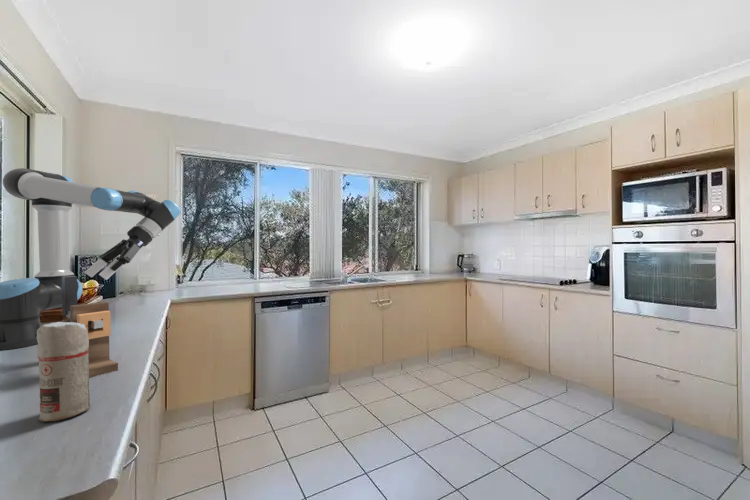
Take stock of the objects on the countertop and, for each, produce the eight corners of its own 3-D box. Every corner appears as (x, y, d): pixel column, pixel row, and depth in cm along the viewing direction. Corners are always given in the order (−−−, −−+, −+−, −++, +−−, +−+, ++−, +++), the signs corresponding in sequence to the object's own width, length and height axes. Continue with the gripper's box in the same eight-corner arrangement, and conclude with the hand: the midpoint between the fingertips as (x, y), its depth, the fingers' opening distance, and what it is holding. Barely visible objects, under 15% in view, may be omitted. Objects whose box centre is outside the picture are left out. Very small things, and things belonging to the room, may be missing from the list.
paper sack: (31, 417, 70) (29, 323, 70) (79, 401, 78) (78, 316, 77) (48, 428, 66) (46, 328, 66) (97, 409, 74) (96, 320, 73)
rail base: (51, 357, 107) (50, 298, 106) (83, 351, 113) (82, 295, 113) (82, 379, 90) (81, 309, 90) (117, 370, 97) (116, 305, 96)
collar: (77, 339, 93) (76, 314, 93) (107, 333, 99) (107, 310, 99) (80, 340, 92) (79, 315, 92) (110, 335, 98) (110, 311, 98)
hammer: (62, 316, 108) (61, 276, 108) (74, 315, 110) (74, 275, 110) (92, 329, 92) (91, 282, 92) (105, 326, 95) (104, 281, 94)
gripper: (168, 239, 120) (119, 285, 108) (137, 239, 134) (91, 280, 122) (151, 224, 115) (98, 270, 103) (121, 226, 129) (72, 267, 117)
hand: (94, 276), depth 112 cm, fingers open, 13 cm apart
